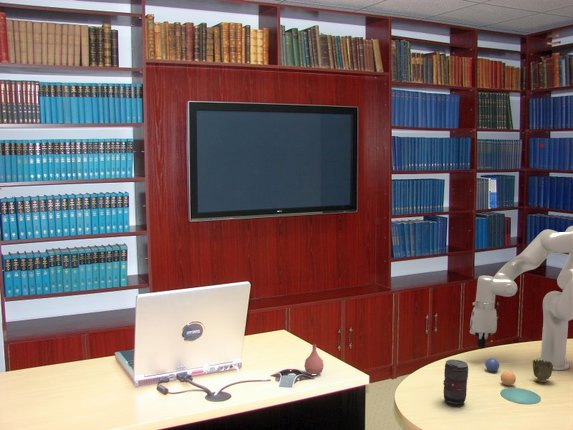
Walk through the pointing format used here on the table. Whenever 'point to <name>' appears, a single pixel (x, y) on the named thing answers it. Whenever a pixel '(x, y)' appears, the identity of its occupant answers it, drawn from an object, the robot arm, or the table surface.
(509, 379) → the object ball
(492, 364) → the blue ball
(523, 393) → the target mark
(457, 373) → the camera lens
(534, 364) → the cup
